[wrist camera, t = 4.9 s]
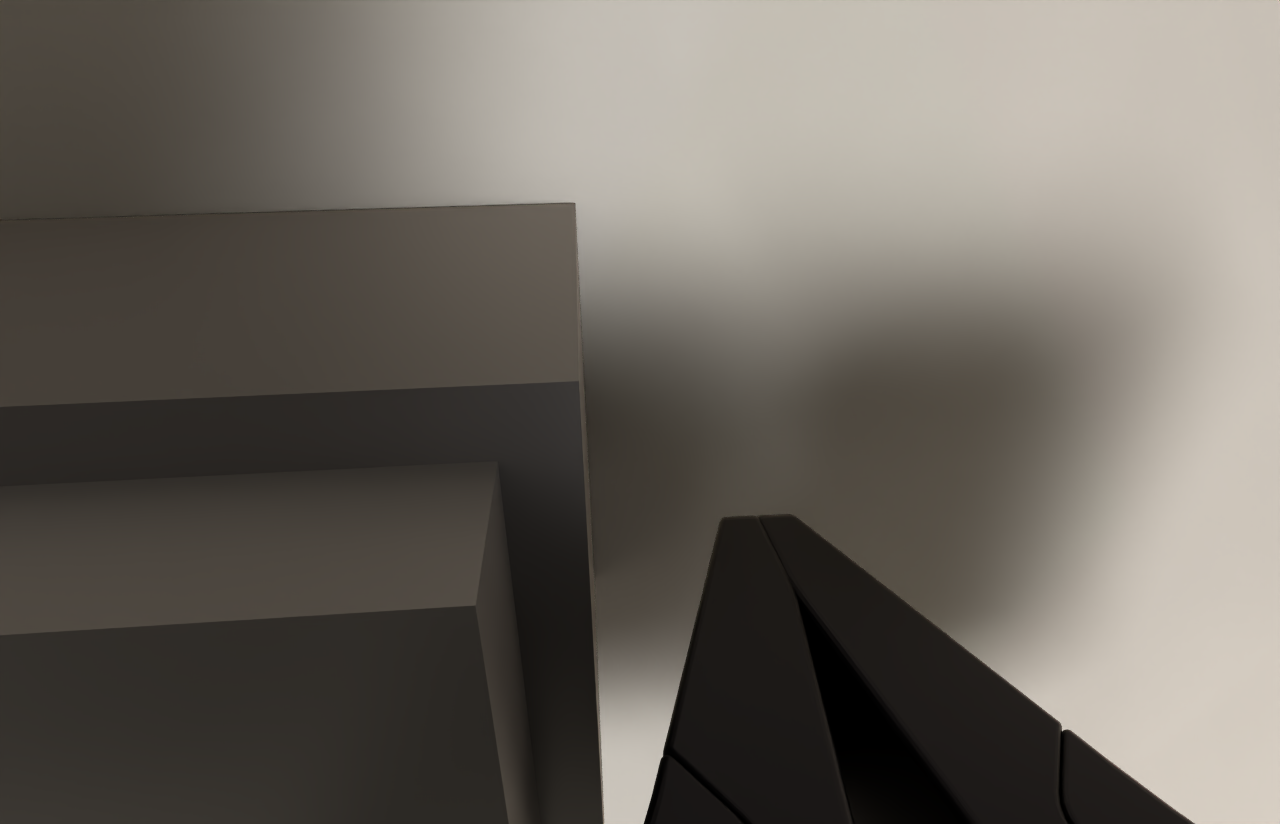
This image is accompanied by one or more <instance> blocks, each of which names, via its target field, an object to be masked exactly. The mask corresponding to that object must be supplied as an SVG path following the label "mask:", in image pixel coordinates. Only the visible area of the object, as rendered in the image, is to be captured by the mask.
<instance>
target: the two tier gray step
mask: <svg viewBox="0 0 1280 824" xmlns="http://www.w3.org/2000/svg"><path fill="white" fill-rule="evenodd" d="M0 824H604V806H603V781H602V756H601V731H600V706H599V681H598V656H597V631H596V606H595V581H594V562H593V542H592V522H591V503H590V483H589V464H588V444H587V424H586V405H585V385H584V366H583V346H582V326H581V307H580V287H579V268H578V248H577V228H576V209H575V203H565V204H531V205H498V206H464V207H431V208H397V209H364V210H330V211H297V212H263V213H230V214H197V215H163V216H130V217H96V218H63V219H29V220H0Z"/></svg>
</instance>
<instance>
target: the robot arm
mask: <svg viewBox="0 0 1280 824" xmlns="http://www.w3.org/2000/svg"><path fill="white" fill-rule="evenodd" d="M644 824H1195V823H1193V822H1192V821H1190V820H1189V819H1187V818H1186V817H1185V816H1183V815H1182V814H1180V813H1179V812H1177V811H1176V810H1175V809H1173V808H1172V807H1171V806H1169V805H1168V804H1167V803H1165V802H1164V801H1163V800H1161V799H1160V798H1159V797H1157V796H1156V795H1155V794H1153V793H1152V792H1151V791H1149V790H1148V789H1147V788H1145V787H1144V786H1143V785H1141V784H1140V783H1139V782H1137V781H1136V780H1135V779H1133V778H1132V777H1131V776H1129V775H1128V774H1127V773H1125V772H1124V771H1123V770H1121V769H1120V768H1119V767H1117V766H1116V765H1115V764H1113V763H1112V762H1111V761H1109V760H1108V759H1107V758H1105V757H1104V756H1103V755H1102V754H1100V753H1099V752H1098V751H1096V750H1095V749H1094V748H1093V747H1091V746H1090V745H1089V744H1087V743H1086V742H1085V741H1084V740H1082V739H1081V738H1080V737H1078V736H1077V735H1076V734H1075V733H1073V732H1072V731H1071V730H1064V731H1062V726H1061V724H1060V722H1059V721H1057V720H1056V719H1055V718H1054V717H1052V716H1051V715H1050V714H1048V713H1047V712H1046V711H1045V710H1043V709H1042V708H1041V707H1039V706H1038V705H1037V704H1036V703H1034V702H1033V701H1032V700H1030V699H1029V698H1028V697H1027V696H1025V695H1024V694H1023V693H1022V692H1020V691H1019V690H1018V689H1016V688H1015V687H1014V686H1013V685H1011V684H1010V683H1009V682H1007V681H1006V680H1005V679H1004V678H1002V677H1001V676H1000V675H998V674H997V673H996V672H995V671H993V670H992V669H991V668H989V667H988V666H987V665H986V664H984V663H983V662H982V661H980V660H979V659H978V658H977V657H975V656H974V655H973V654H971V653H970V652H969V651H968V650H966V649H965V648H964V647H963V646H961V645H960V644H959V643H957V642H956V641H955V640H954V639H952V638H951V637H950V636H948V635H947V634H946V633H945V632H943V631H942V630H941V629H939V628H938V627H937V626H936V625H934V624H933V623H932V622H930V621H929V620H928V619H927V618H925V617H924V616H923V615H921V614H920V613H919V612H918V611H916V610H915V609H914V608H913V607H911V606H910V605H909V604H907V603H906V602H905V601H904V600H902V599H901V598H900V597H898V596H897V595H896V594H895V593H893V592H892V591H891V590H889V589H888V588H887V587H886V586H884V585H883V584H882V583H880V582H879V581H878V580H877V579H875V578H874V577H873V576H871V575H870V574H869V573H868V572H866V571H865V570H864V569H862V568H861V567H860V566H859V565H857V564H856V563H855V562H854V561H852V560H851V559H850V558H848V557H847V556H846V555H845V554H843V553H842V552H841V551H839V550H838V549H837V548H836V547H834V546H833V545H832V544H830V543H829V542H828V541H827V540H825V539H824V538H823V537H821V536H820V535H819V534H818V533H816V532H815V531H814V530H812V529H811V528H810V527H809V526H807V525H806V524H805V523H803V522H802V521H801V520H800V519H798V518H797V517H795V516H794V515H791V514H779V515H760V516H757V517H756V516H732V517H724V518H722V519H721V520H720V522H719V526H718V530H717V534H716V538H715V542H714V546H713V551H712V555H711V559H710V563H709V567H708V571H707V575H706V579H705V583H704V587H703V591H702V595H701V600H700V604H699V608H698V612H697V616H696V620H695V624H694V628H693V632H692V636H691V640H690V644H689V648H688V653H687V657H686V661H685V665H684V669H683V673H682V677H681V681H680V685H679V689H678V693H677V697H676V702H675V706H674V710H673V714H672V718H671V722H670V726H669V730H668V734H667V738H666V742H665V746H664V750H663V757H662V758H661V761H660V764H659V769H658V773H657V777H656V781H655V785H654V789H653V793H652V797H651V801H650V804H649V808H648V811H647V815H646V818H645V822H644Z"/></svg>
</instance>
